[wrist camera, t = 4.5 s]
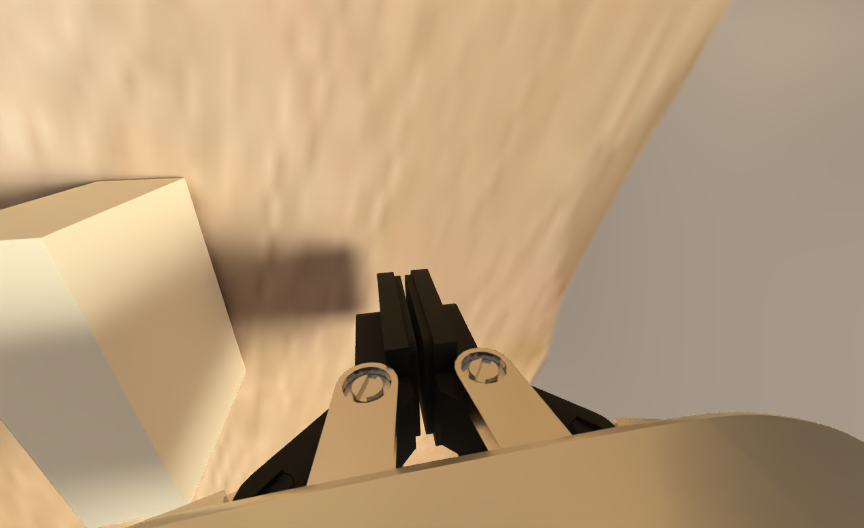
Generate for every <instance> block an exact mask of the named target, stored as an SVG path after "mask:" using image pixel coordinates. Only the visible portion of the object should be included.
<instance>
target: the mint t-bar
mask: <svg viewBox="0 0 864 528" xmlns="http://www.w3.org/2000/svg"><path fill="white" fill-rule="evenodd" d="M245 374H246V369H245V366H244V363H243V360H242V357H241V354H240V350H239V347H238V344H237V341H236V338H235V335H234V332H233V328H232V325H231V322H230V319H229V316H228V313H227V310H226V307H225V303H224V300H223V297H222V294H221V291H220V288H219V285H218V281H217V278H216V275H215V272H214V269H213V266H212V263H211V259H210V256H209V253H208V250H207V247H206V244H205V241H204V238H203V234H202V231H201V228H200V225H199V222H198V219H197V216H196V212H195V209H194V206H193V203H192V200H191V197H190V194H189V191H188V187H187V184H186V181H185V178H166V179H142V180H118V181H97V182H93V183H90V184H86V185H83V186H80V187H76V188H73V189H69V190H66V191H63V192H59V193H56V194H52V195H49V196H46V197H42V198H39V199H35V200H32V201H29V202H25V203H22V204H18V205H15V206H12V207H8V208H5V209H1V210H0V419H1V420H2V422H3V423H4V424H5V425H6V427H7V428H8V429H9V430H10V432H11V433H12V434H13V436H14V437H15V438H16V439H17V441H18V442H19V443H20V444H21V446H22V447H23V448H24V450H25V451H26V452H27V453H28V455H29V456H30V457H31V458H32V460H33V461H34V462H35V463H36V465H37V466H38V467H39V469H40V470H41V471H42V472H43V474H44V475H45V476H46V477H47V479H48V480H49V481H50V483H51V484H52V485H53V486H54V488H55V489H56V490H57V491H58V493H59V494H60V495H61V496H62V498H63V499H64V500H65V502H66V503H67V504H68V505H69V507H70V508H71V509H72V510H73V512H74V513H75V514H76V515H77V517H78V518H79V519H80V521H81V522H82V523H83V524H84V526H85V527H86V528H96V527H102V526H107V525H112V524H117V523H123V522H128V521H133V520H138V519H143V518H149V517H154V516H158V515H161V514H164V513H166V512H169V511H171V510H174V509H177V508H179V507H182V506H184V505H187V504H189V503H191V501H192V499H193V497H194V494H195V492H196V490H197V487H198V485H199V482H200V480H201V478H202V475H203V473H204V471H205V468H206V466H207V464H208V461H209V459H210V457H211V454H212V452H213V449H214V447H215V445H216V442H217V440H218V438H219V435H220V433H221V431H222V428H223V426H224V424H225V421H226V419H227V416H228V414H229V412H230V409H231V407H232V405H233V402H234V400H235V398H236V395H237V393H238V391H239V388H240V386H241V384H242V381H243V379H244V376H245Z"/></svg>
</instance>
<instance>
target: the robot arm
mask: <svg viewBox="0 0 864 528" xmlns="http://www.w3.org/2000/svg"><path fill="white" fill-rule="evenodd" d="M377 280H378V291H379V302H380V312H374V313H365V314H357V315H356V346H355V366H354V367H352V368H350V369H349V370H347V371H346V372H344V374H343V375H342V376H341V377H340V378H339V380H338V381H337V383H336V386H335V389H334V393H333V396H332V400H331V403H330V407H329V409H328V410H327V411H326V412H324V413H323V414H322V415H321V416H320V417H319V418H317V419H316V420H315V421H314V422H313V423H312V424H310V425H309V426H308V427H307V428H306V429H305V430H303V431H302V432H301V433H300V434H299V435H298V436H296V437H295V438H294V439H293V440H292V441H291V442H289V443H288V444H287V445H286V446H285V447H283V448H282V449H281V450H280V451H279V452H278V453H276V454H275V455H274V456H273V457H272V458H271V459H269V460H268V461H267V462H266V463H265V464H264V465H262V466H261V467H260V468H259V469H258V470H257V471H255V472H254V473H253V474H252V475H251V476H250V477H249V478H248V479H247V480H246V481H245V482H244V483H243V484H242V485H241V487H240V488H239V490H238V491H237V492H234V493H232V494H229V495H226V493H225V490H223V491H221V492H218V493H215V494H213V495H210V496H208V497H205V498H202V499H200V500H197V501H195V502H192V503H189V504H187V505H184V506H182V507H179V508H177V509H174V510H171V511H169V512H166V513H164V514H161V515H158V516H156V517H153V518H151V519H148V520H145V521H143V522H140V523H138V524H135V525H132V526H129V527H126V528H864V442H863V441H861V440H859V439H857V438H856V437H854V436H852V435H850V434H848V433H845V432H843V431H841V430H838V429H836V428H832V427H830V426H827V425H823V424H820V423H817V422H813V421H808V420H804V419H800V418H794V417H788V416H781V415H774V414H768V413H755V412H719V413H705V414H697V415H690V416H681V417H673V418H667V419H640V418H614V422H613V423H611V422H610V421H609V420H607V419H606V418H604V417H603V416H601V415H599V414H597V413H595V412H593V411H590V410H588V409H586V408H583V407H581V406H578V405H576V404H573V403H571V402H569V401H567V400H564V399H562V398H559V397H557V396H554V395H552V394H550V393H548V392H545V391H543V390H540V389H538V388H536V387H533V386H531V385H530V384H529V383H528V381H527V380H526V379H525V378H524V377H523V375H522V374H521V373H520V372H519V371H518V369H517V368H516V367H515V366H514V365H513V363H512V362H511V361H510V360H509V359H508V358H507V357H506V356H505V355H504V354H502V353H500V352H498V351H496V350H492V349H489V348H478V347H477V345H476V343H475V341H474V339H473V337H472V335H471V333H470V331H469V329H468V327H467V325H466V323H465V321H464V319H463V317H462V315H461V313H460V311H459V309H458V307H457V305H456V304H446V305H442V303H441V300H440V298H439V295H438V293H437V291H436V288H435V286H434V283H433V281H432V279H431V276H430V274H429V271H428V269H421V270H411V275H405V290H406V298H405V293H404V289H403V285H402V281H401V277H400V276H394V273H393V272H388V273H378V274H377ZM419 402H420V405H419ZM420 407H421V412H422V417H423V422H424V427H425V431H426V434H432V433H433V436H434V440H435V445H436V446H439V445H443V446H445V447H447V448H449V449H450V450H452V451H453V458H448V459H443V460H437V461H432V462H427V463H422V464H417V465H411V466H406V467H404V463H405V462H406V460H407V459H408V458H409V457H410V455H411V454H412V453H413V451H414V450H415V449H416V436H420Z"/></svg>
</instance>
